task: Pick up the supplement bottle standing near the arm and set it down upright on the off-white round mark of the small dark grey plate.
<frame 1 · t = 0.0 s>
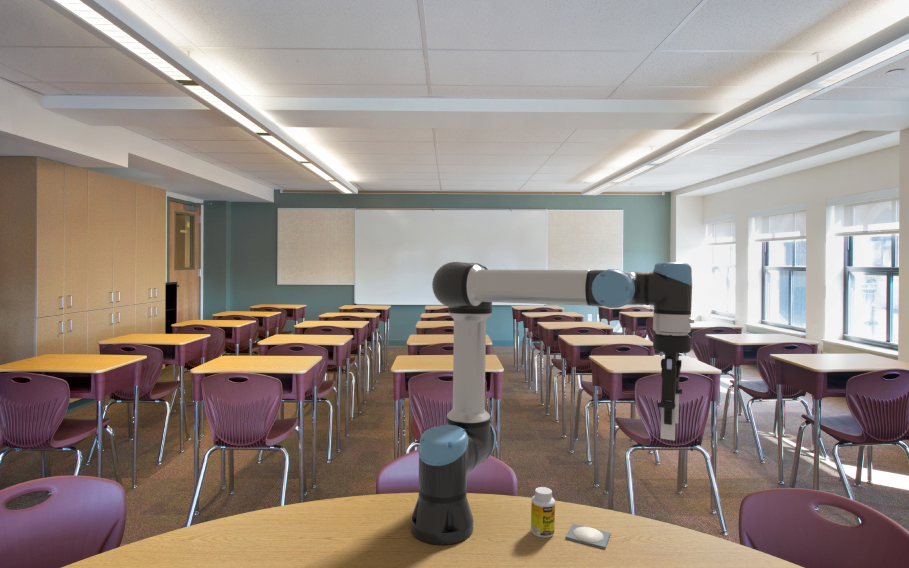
hand: (669, 430, 105), 28 cm above the table, tool pointing down, fingers open, 13 cm apart
seat plate: (588, 536, 113), on the table
supplement bottle: (542, 533, 115), on the table
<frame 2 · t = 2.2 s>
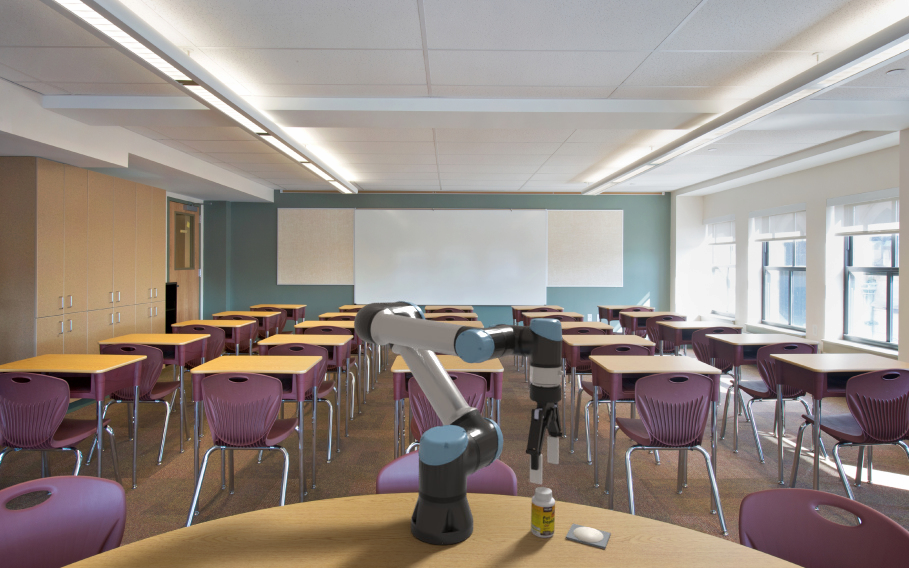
hand: (544, 472, 115), 15 cm above the table, tool pointing down, fingers open, 13 cm apart
nothing on the table moved.
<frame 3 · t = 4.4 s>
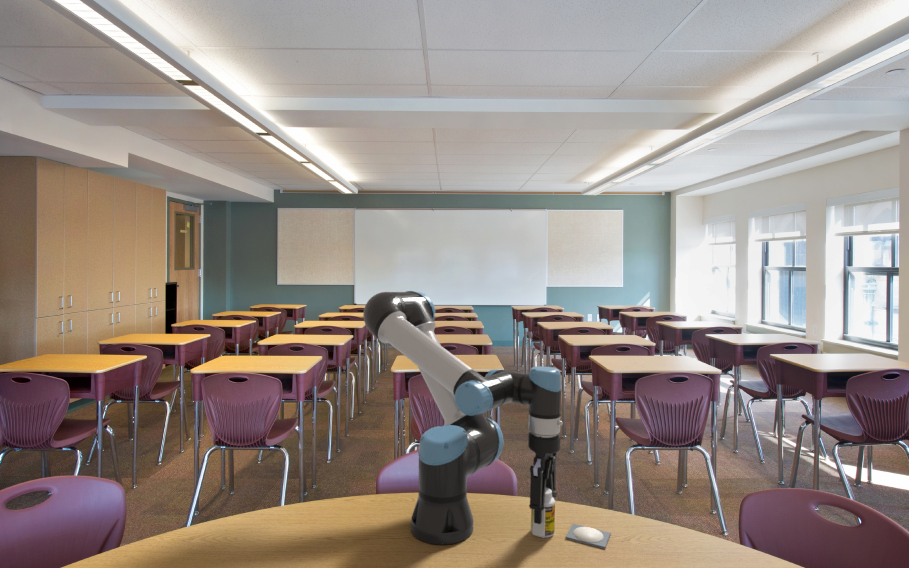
hand: (542, 529, 115), 1 cm above the table, tool pointing down, fingers closed on supplement bottle, 6 cm apart
supplement bottle: (542, 533, 115), on the table, touching gripper
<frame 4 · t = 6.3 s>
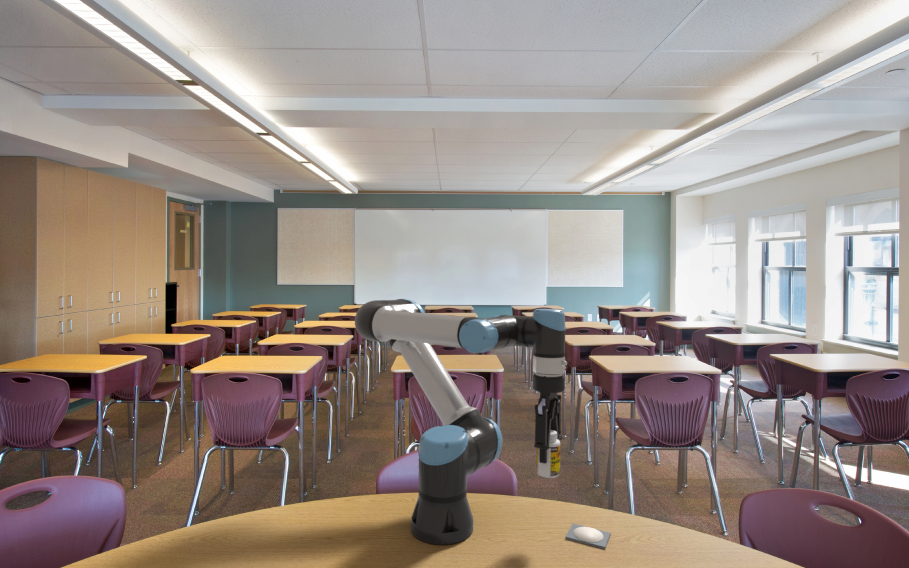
hand: (548, 470, 114), 15 cm above the table, tool pointing down, fingers closed on supplement bottle, 6 cm apart
supplement bottle: (548, 475, 115), point 14 cm above the table, touching gripper
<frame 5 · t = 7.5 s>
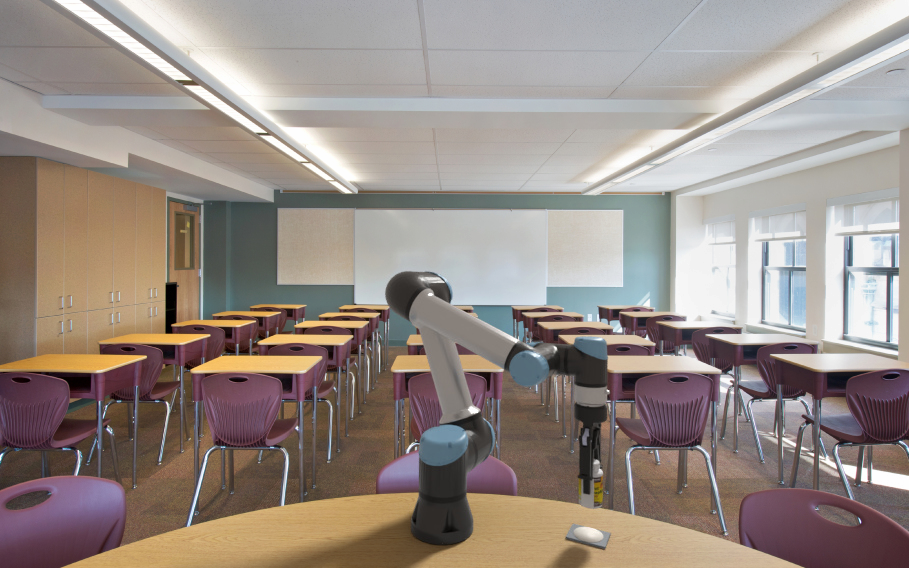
hand: (590, 500, 113), 9 cm above the table, tool pointing down, fingers closed on supplement bottle, 6 cm apart
supplement bottle: (590, 505, 113), point 8 cm above the table, touching gripper
when the fingers open (2 cm above the table, at t = 8.6 s): supplement bottle stays where it is, resting on seat plate.
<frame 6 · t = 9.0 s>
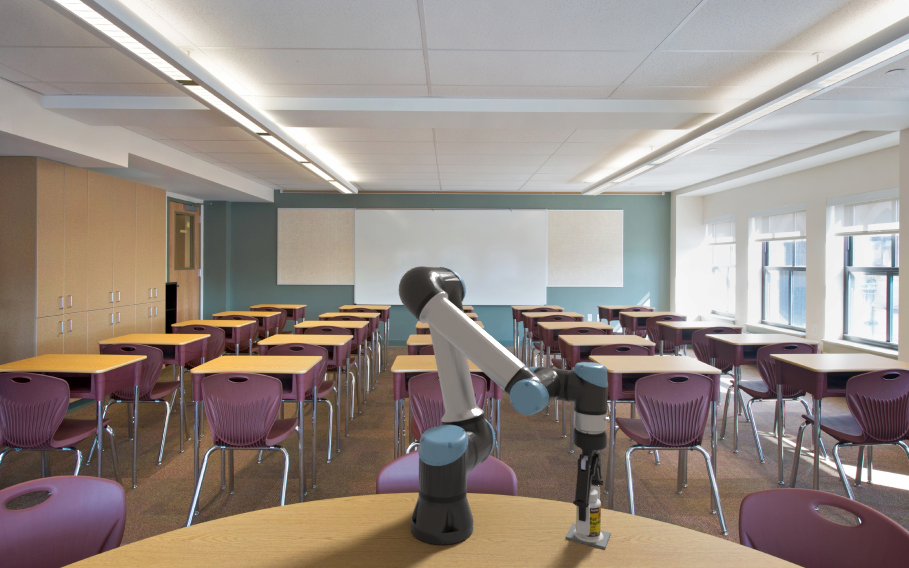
hand: (588, 522, 113), 3 cm above the table, tool pointing down, fingers open, 11 cm apart
supplement bottle: (588, 535, 113), resting on seat plate
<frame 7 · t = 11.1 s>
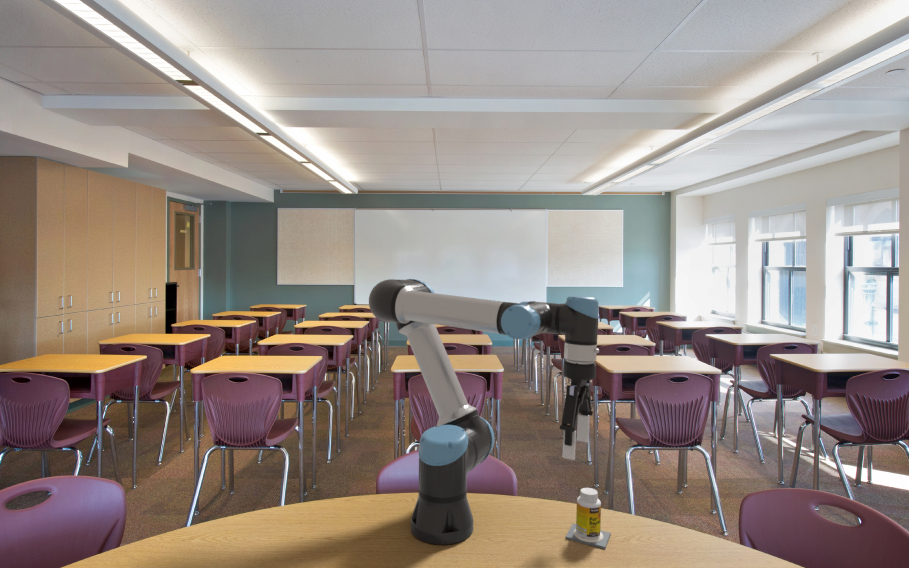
hand: (575, 449, 115), 20 cm above the table, tool pointing down, fingers open, 13 cm apart
nothing on the table moved.
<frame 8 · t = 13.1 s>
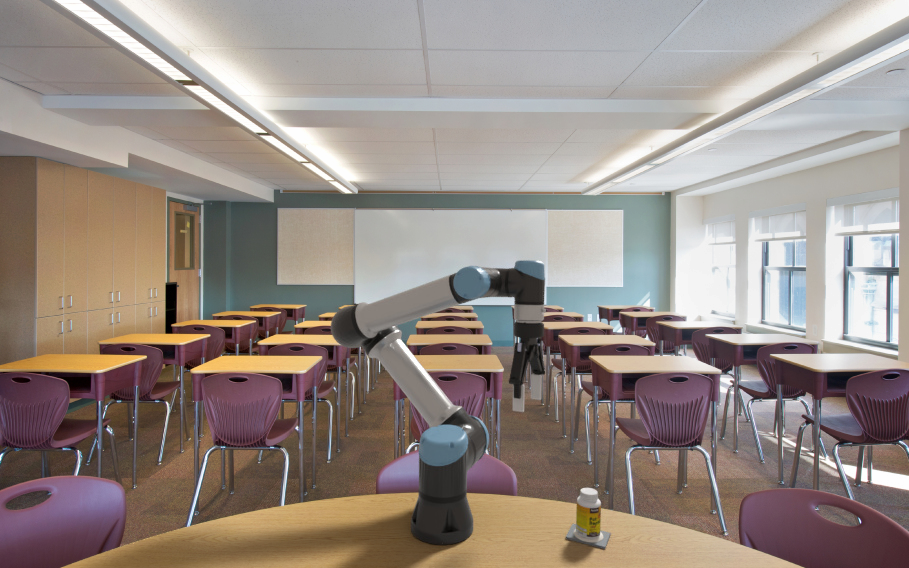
hand: (527, 405, 122), 29 cm above the table, tool pointing down, fingers open, 13 cm apart
nothing on the table moved.
at the end: supplement bottle 0.0 cm from the seat plate (horizontally); supplement bottle tilted 0°; supplement bottle touching seat plate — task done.
